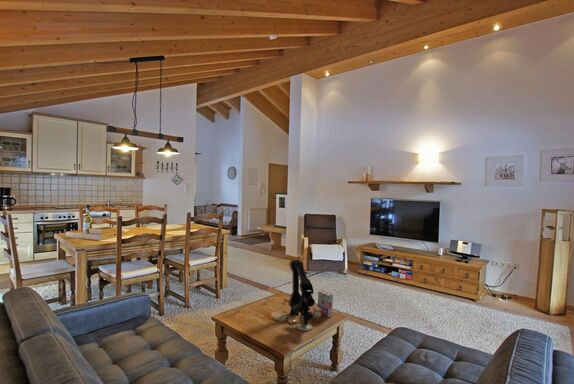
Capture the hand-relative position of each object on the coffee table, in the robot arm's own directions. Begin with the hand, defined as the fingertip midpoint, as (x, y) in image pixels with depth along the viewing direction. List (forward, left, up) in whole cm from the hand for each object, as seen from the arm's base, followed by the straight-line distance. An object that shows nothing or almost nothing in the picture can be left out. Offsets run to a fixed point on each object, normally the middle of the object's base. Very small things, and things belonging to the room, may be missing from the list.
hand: (304, 323), depth 202 cm
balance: (-9, 0, -3) cm, 9 cm away
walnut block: (0, 0, -1) cm, 1 cm away
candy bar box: (-23, +14, -3) cm, 27 cm away
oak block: (-12, +9, +2) cm, 15 cm away
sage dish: (0, 0, -3) cm, 3 cm away
